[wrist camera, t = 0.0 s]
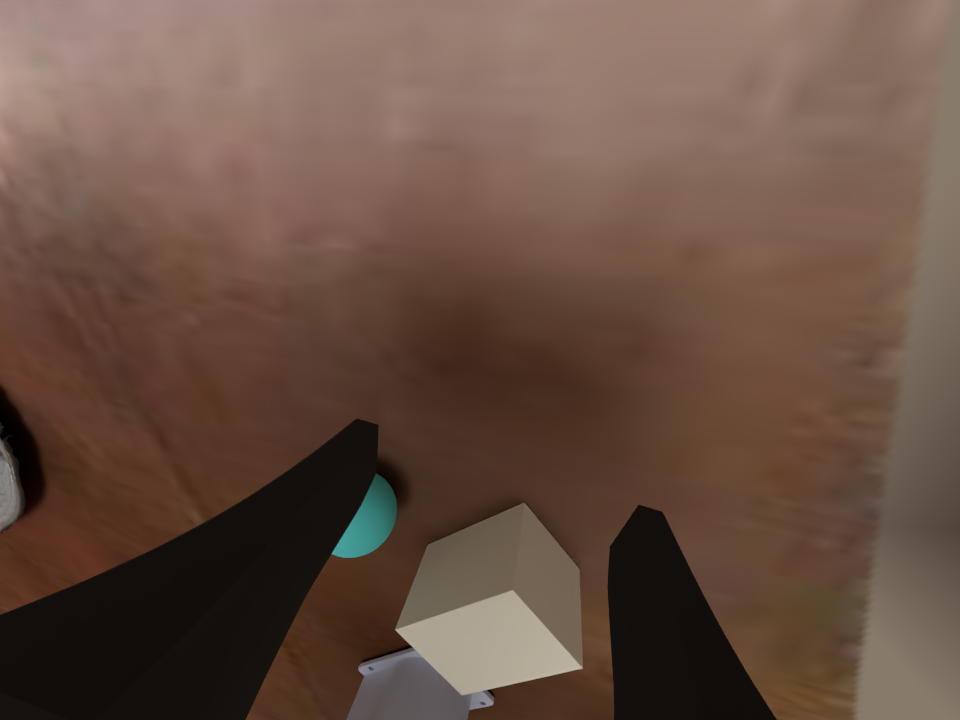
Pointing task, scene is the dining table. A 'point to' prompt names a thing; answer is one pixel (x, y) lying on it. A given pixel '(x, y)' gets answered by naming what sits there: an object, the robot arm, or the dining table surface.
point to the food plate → (9, 486)
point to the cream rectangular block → (496, 604)
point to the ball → (370, 521)
